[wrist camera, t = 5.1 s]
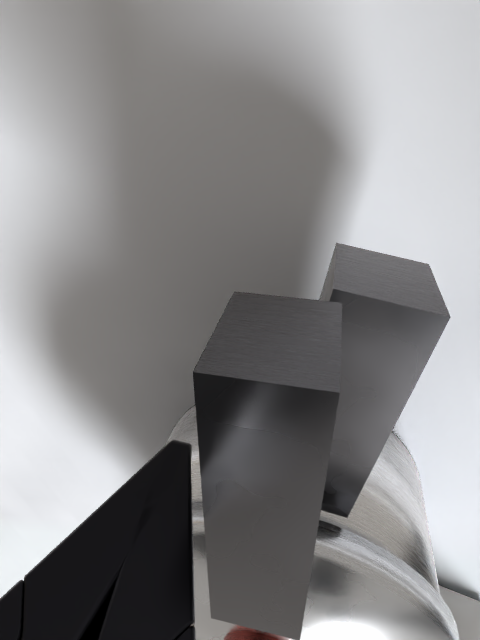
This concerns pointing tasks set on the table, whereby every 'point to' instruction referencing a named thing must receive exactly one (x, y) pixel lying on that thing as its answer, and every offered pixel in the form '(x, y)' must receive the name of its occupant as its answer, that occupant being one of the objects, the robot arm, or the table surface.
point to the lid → (286, 492)
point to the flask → (463, 613)
